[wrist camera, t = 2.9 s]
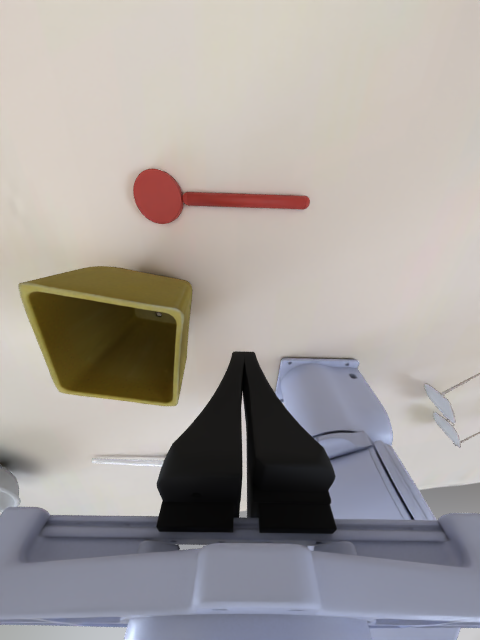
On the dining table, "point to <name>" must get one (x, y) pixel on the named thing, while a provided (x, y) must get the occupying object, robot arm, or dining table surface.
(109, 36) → the dining table surface
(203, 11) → the dining table surface
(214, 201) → the red spoon
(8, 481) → the dish
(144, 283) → the flower pot
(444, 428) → the eyeglasses
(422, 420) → the dining table surface
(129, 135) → the dining table surface
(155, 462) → the white fork
